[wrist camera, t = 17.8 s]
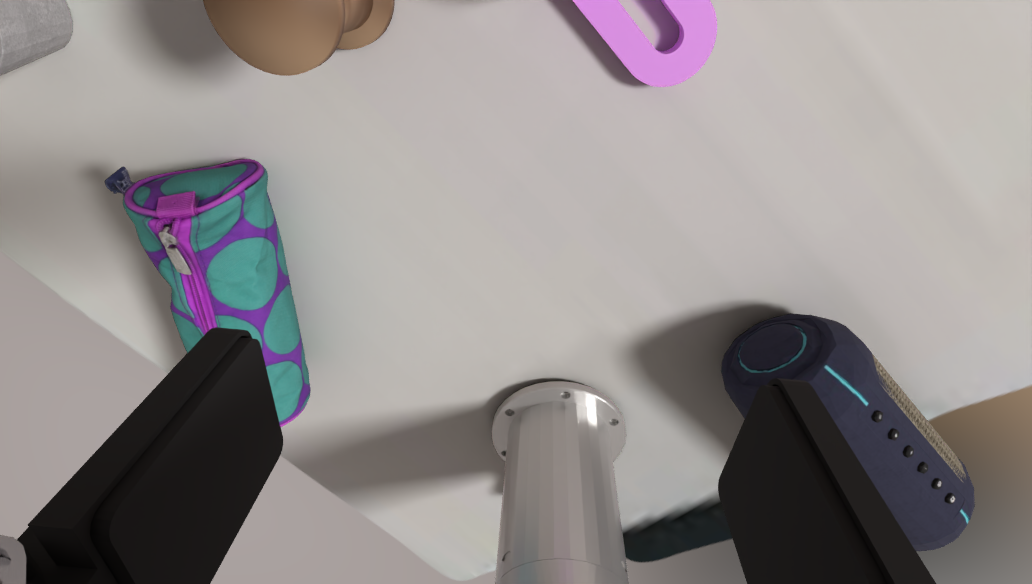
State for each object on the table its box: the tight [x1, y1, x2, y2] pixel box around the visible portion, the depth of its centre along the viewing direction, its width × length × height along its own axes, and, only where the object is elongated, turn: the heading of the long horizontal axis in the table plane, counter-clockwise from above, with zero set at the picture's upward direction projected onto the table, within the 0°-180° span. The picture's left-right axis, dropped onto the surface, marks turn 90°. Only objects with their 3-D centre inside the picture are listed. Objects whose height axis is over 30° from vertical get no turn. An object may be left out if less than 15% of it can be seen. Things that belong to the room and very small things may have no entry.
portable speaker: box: [721, 314, 974, 551], centre depth 42 cm, size 25×10×10 cm, turn 45°
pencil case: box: [105, 159, 310, 427], centre depth 39 cm, size 21×9×10 cm, turn 177°
